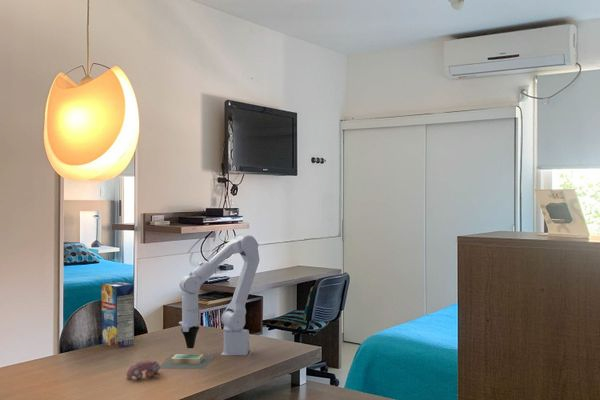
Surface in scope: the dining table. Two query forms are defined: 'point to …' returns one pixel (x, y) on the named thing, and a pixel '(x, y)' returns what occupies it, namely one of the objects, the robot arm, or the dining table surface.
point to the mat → (202, 365)
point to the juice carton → (118, 314)
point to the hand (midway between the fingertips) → (190, 347)
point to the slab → (187, 358)
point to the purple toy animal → (143, 369)
